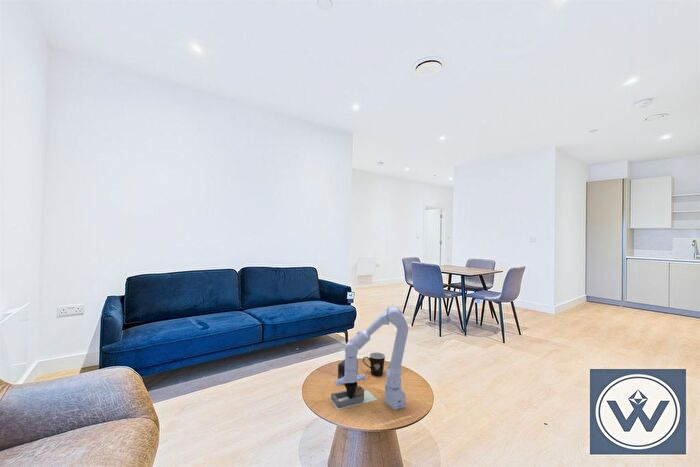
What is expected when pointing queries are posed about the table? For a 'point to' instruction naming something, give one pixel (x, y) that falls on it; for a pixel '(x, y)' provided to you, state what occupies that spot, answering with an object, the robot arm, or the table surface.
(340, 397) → the bay board
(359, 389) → the walnut cube
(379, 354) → the coffee mug
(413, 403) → the table surface
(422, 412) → the table surface
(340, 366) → the small box
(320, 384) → the table surface
